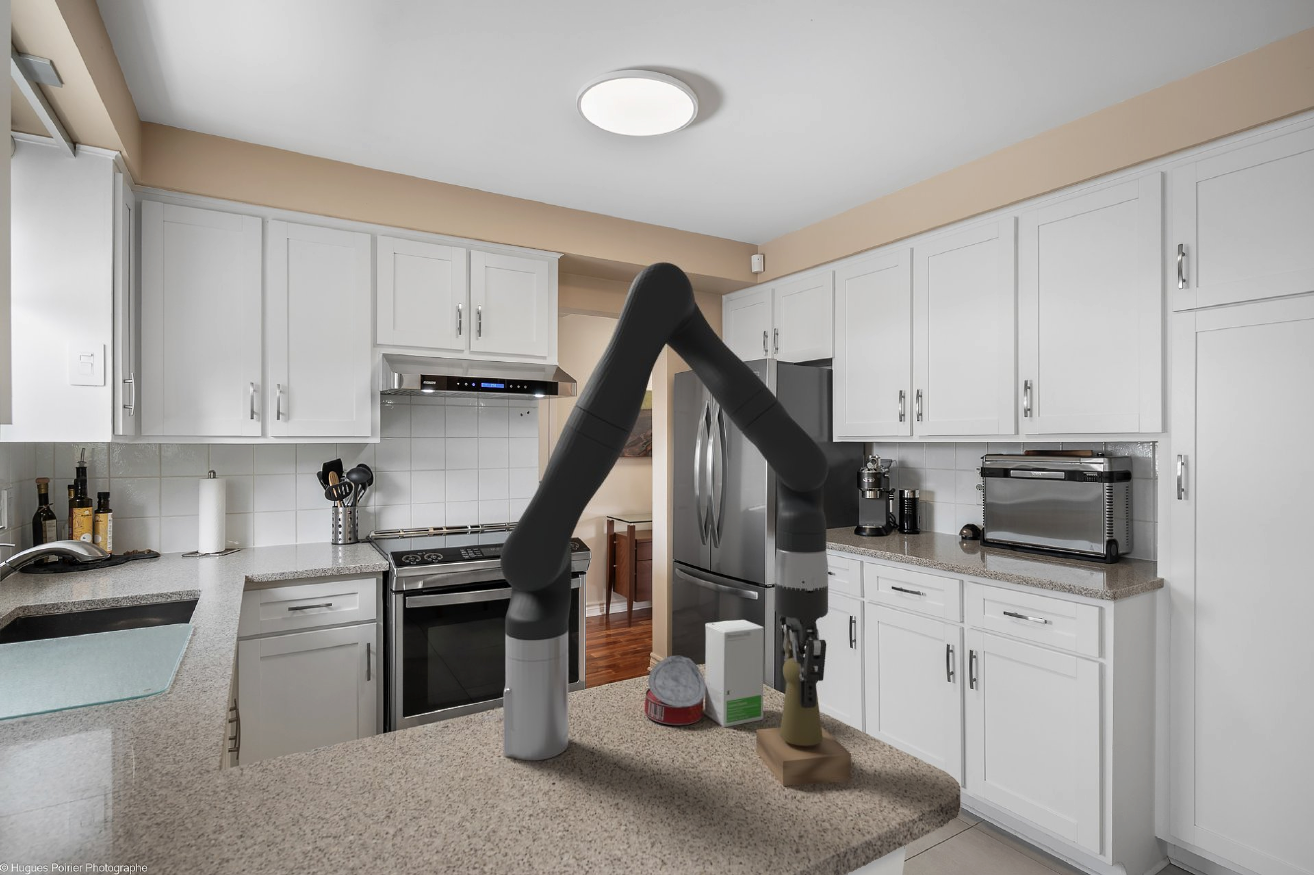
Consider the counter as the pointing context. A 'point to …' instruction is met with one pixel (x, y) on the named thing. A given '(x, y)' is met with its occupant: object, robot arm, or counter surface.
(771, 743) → the walnut block
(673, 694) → the canned food
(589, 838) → the counter surface
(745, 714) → the skincare box
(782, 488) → the robot arm
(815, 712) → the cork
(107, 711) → the counter surface
